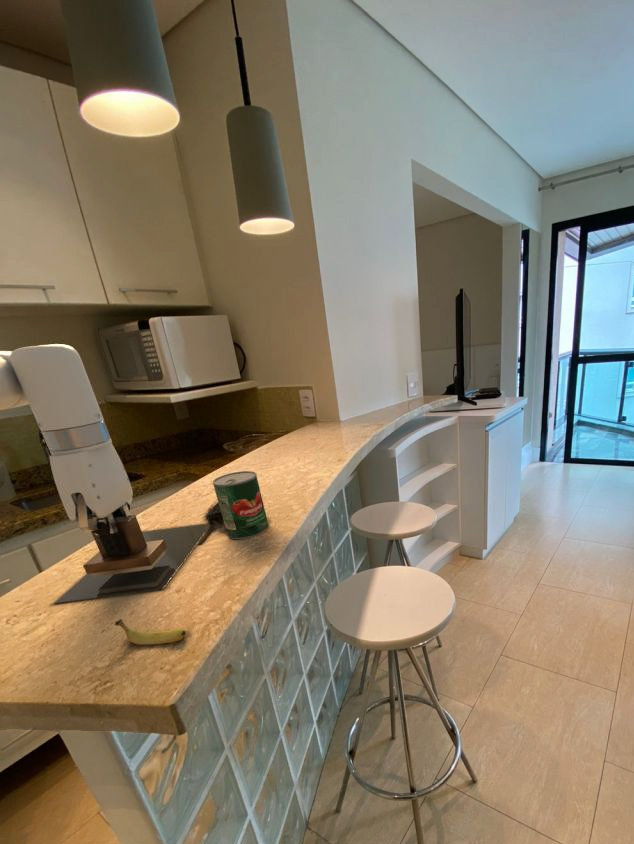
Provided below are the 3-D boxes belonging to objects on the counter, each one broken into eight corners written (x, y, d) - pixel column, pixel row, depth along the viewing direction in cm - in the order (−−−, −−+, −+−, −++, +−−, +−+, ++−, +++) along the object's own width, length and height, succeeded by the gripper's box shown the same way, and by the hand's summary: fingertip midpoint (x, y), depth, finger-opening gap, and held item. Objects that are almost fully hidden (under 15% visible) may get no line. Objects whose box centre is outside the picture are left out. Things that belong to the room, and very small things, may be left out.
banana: (122, 651, 50) (110, 625, 48) (131, 641, 51) (119, 616, 50) (186, 648, 49) (175, 621, 48) (192, 638, 51) (183, 612, 49)
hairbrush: (246, 475, 105) (241, 503, 82) (249, 489, 107) (245, 520, 84) (213, 482, 103) (198, 512, 81) (216, 495, 105) (203, 529, 82)
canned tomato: (240, 522, 84) (227, 471, 80) (275, 521, 82) (263, 469, 78) (219, 540, 77) (203, 485, 73) (257, 540, 75) (243, 484, 71)
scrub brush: (88, 578, 64) (67, 532, 61) (109, 559, 69) (91, 516, 66) (153, 570, 64) (135, 524, 61) (168, 551, 69) (153, 508, 66)
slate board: (56, 608, 61) (53, 603, 60) (134, 537, 83) (132, 533, 82) (165, 594, 61) (163, 588, 61) (213, 527, 83) (212, 522, 83)
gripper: (85, 430, 66) (126, 532, 73) (8, 455, 51) (69, 580, 58) (132, 424, 66) (168, 526, 73) (69, 448, 51) (122, 573, 58)
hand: (124, 549), depth 65 cm, fingers closed on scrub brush, 2 cm apart
